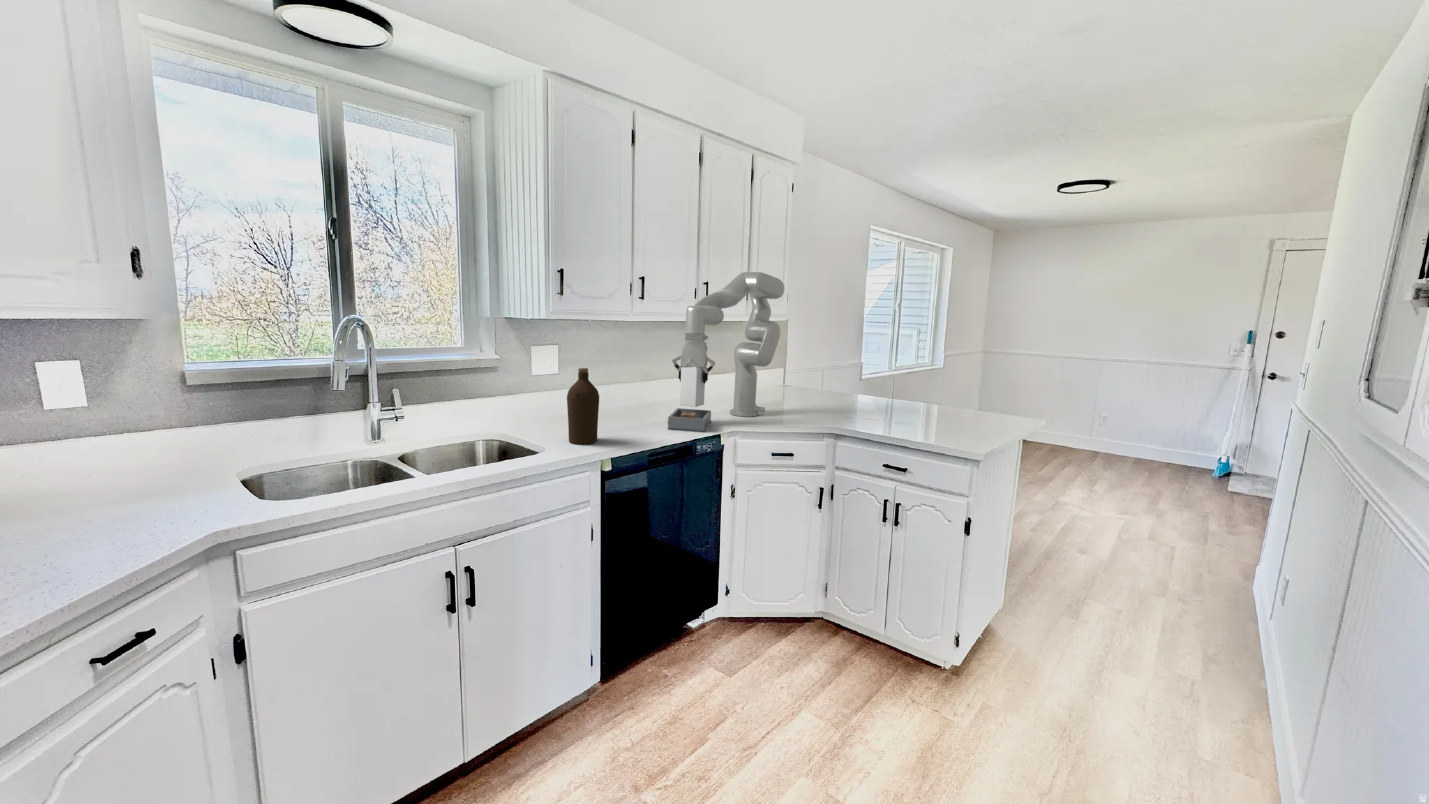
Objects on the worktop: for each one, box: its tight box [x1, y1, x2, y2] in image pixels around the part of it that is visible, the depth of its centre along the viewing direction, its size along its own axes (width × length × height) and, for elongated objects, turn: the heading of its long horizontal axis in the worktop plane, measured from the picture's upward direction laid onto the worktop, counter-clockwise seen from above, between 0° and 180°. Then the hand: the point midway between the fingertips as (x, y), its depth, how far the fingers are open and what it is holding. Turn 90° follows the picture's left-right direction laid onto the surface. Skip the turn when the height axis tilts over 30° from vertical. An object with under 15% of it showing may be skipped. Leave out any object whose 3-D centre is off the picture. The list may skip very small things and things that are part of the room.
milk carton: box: [679, 358, 706, 408], centre depth 227 cm, size 7×7×19 cm
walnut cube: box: [681, 412, 696, 418], centre depth 222 cm, size 5×5×5 cm
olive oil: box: [566, 367, 600, 446], centre depth 194 cm, size 11×11×25 cm
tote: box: [667, 407, 712, 433], centre depth 227 cm, size 14×18×5 cm
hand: (692, 381), depth 227 cm, fingers closed on milk carton, 9 cm apart
